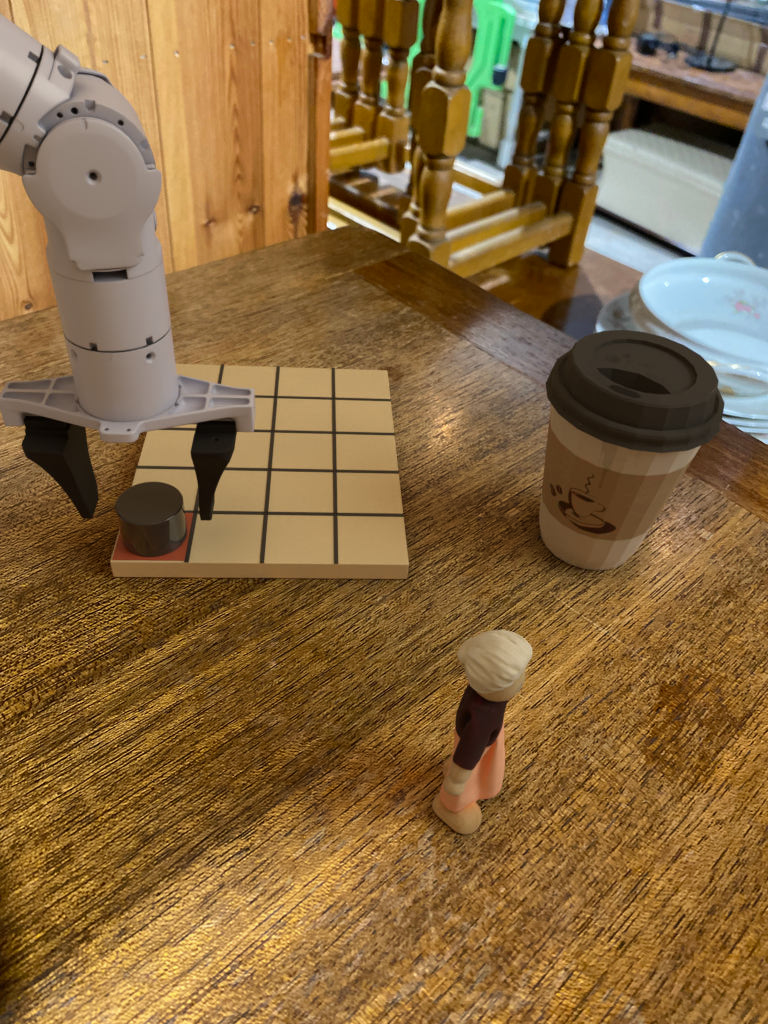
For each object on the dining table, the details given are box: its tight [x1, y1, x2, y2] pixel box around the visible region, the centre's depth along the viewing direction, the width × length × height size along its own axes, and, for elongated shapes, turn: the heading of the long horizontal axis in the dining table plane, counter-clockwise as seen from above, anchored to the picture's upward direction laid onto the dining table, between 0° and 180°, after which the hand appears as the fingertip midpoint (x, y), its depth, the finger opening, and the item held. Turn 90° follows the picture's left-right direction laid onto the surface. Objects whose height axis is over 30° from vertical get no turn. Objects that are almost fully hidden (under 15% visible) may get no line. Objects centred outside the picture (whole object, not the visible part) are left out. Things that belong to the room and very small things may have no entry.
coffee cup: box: [538, 329, 725, 571], centre depth 54 cm, size 11×11×15 cm
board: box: [109, 363, 410, 580], centre depth 62 cm, size 20×25×2 cm
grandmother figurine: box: [431, 629, 534, 835], centre depth 39 cm, size 8×4×13 cm, turn 171°
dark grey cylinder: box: [114, 482, 188, 557], centre depth 53 cm, size 4×4×3 cm
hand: (149, 509), depth 52 cm, fingers open, 7 cm apart
